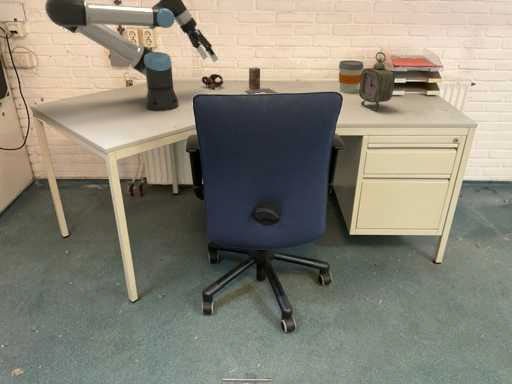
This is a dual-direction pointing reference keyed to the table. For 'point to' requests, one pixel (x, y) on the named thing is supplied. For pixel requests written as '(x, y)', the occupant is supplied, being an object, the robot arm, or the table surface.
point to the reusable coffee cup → (350, 75)
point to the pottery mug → (212, 81)
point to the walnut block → (254, 78)
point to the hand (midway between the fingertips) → (210, 59)
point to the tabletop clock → (376, 83)
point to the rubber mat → (260, 91)
